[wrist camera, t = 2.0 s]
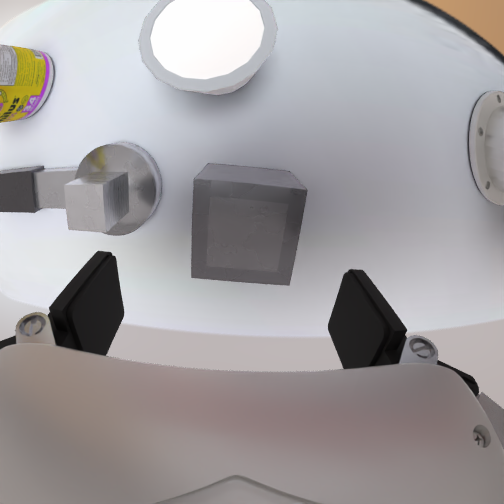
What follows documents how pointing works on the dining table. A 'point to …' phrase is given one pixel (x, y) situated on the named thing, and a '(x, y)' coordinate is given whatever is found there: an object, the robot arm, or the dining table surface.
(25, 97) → the supplement bottle
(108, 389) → the robot arm
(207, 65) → the white cup
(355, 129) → the dining table surface
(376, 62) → the dining table surface
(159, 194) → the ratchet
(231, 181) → the grey cube
